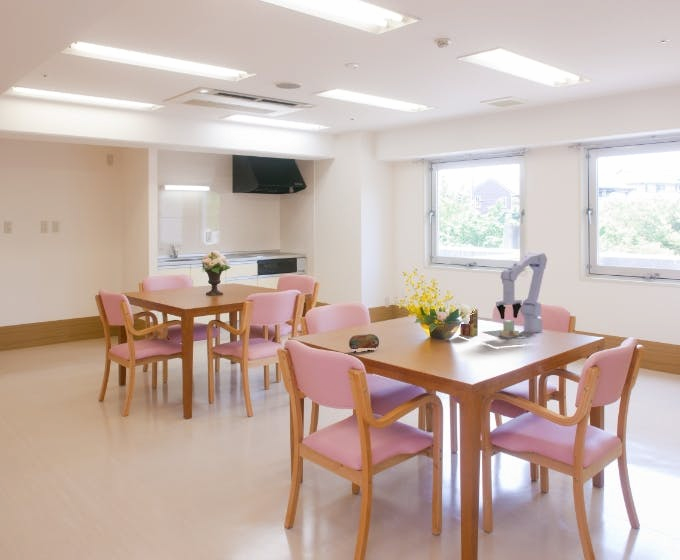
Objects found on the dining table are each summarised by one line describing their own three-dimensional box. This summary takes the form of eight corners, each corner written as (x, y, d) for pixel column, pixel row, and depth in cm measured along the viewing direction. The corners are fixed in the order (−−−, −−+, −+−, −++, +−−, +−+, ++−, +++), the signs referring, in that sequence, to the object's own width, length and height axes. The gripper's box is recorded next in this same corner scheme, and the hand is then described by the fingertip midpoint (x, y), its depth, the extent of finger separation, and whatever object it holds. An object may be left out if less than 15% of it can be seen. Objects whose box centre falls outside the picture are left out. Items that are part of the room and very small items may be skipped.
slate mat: (503, 331, 333) (503, 329, 332) (530, 339, 309) (530, 337, 309) (481, 333, 329) (481, 331, 328) (506, 341, 305) (506, 339, 305)
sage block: (510, 329, 317) (510, 320, 317) (514, 330, 313) (514, 321, 313) (503, 330, 316) (503, 320, 316) (507, 331, 312) (507, 321, 312)
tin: (350, 353, 289) (349, 336, 288) (348, 351, 292) (347, 335, 291) (379, 350, 293) (379, 333, 292) (377, 349, 296) (377, 332, 295)
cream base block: (511, 334, 319) (511, 328, 319) (518, 336, 312) (518, 330, 312) (499, 335, 317) (499, 329, 317) (507, 337, 310) (506, 332, 310)
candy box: (478, 337, 319) (478, 309, 318) (473, 338, 317) (473, 309, 315) (465, 335, 326) (464, 307, 325) (460, 336, 323) (459, 308, 322)
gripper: (516, 291, 319) (516, 316, 320) (492, 292, 315) (492, 318, 316) (524, 292, 312) (524, 318, 313) (499, 294, 308) (500, 320, 309)
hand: (508, 318), depth 314 cm, fingers open, 7 cm apart
